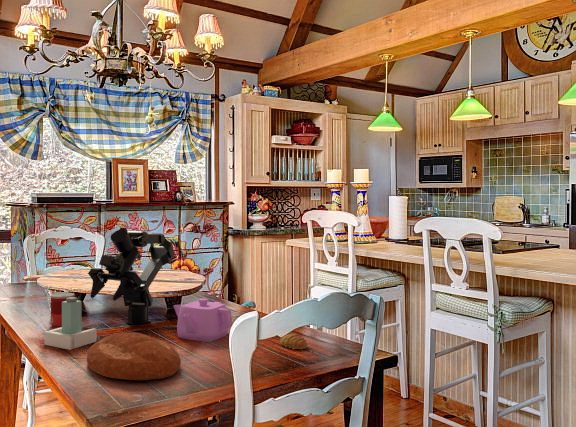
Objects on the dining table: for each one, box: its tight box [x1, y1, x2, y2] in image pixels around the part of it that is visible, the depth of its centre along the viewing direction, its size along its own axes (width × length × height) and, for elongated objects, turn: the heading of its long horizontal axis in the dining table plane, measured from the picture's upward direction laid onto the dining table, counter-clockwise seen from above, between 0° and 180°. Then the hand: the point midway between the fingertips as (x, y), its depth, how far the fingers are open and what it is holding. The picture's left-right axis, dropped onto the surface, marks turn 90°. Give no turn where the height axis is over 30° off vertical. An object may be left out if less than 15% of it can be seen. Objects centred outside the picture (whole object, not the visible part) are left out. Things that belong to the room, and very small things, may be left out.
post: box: [62, 296, 82, 335], centre depth 166 cm, size 4×4×14 cm
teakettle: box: [173, 298, 233, 343], centre depth 176 cm, size 17×17×12 cm
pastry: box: [279, 332, 308, 350], centre depth 166 cm, size 9×7×4 cm
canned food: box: [50, 292, 76, 329], centre depth 187 cm, size 8×8×11 cm
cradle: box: [44, 327, 97, 350], centre depth 166 cm, size 10×11×4 cm
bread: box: [86, 331, 182, 381], centre depth 144 cm, size 23×32×9 cm
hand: (102, 298), depth 173 cm, fingers open, 9 cm apart
